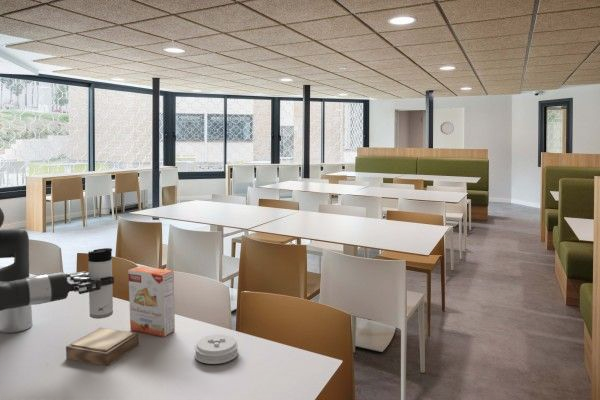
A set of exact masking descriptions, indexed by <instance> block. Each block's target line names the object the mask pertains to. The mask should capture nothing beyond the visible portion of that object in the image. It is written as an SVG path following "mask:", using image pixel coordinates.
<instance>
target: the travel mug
mask: <svg viewBox="0 0 600 400" xmlns="http://www.w3.org/2000/svg"><path fill="white" fill-rule="evenodd" d="M112 252H113V248H110V247H106V248H105V247H104V248H98V249H94V250H92V251H88V252H87V253H88V254H87V255H88V256H87V257H88V260H87V261H88V263H87V265H88V268H87V269H88V272H89V277H91V278H92V279H96V278H104V277H109V276H113V257H112V256H113V255H112ZM93 285H96V284H93ZM113 294H114V293H113V284H110V285H105V286H101V289H100V290H96V291H92V292H88V299H89V301H88V304H89V317H90V318H91V319H99V320H101V319H105V318H109V317H111V316H112V315H113V313H114V309H113V308H114V305H113V304H114V301H113V298H114V297H113V296H114V295H113Z"/></svg>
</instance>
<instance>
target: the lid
mask: <svg viewBox="0 0 600 400" xmlns="http://www.w3.org/2000/svg"><path fill="white" fill-rule="evenodd" d="M238 347H239V342H238V340H237V339H236V338H234V337H233V336H231V335H227V334H211V335H207V336H204V337H202V338H200V339H199V340H198V341H197V342H195V344H194V351H195V352H194V358H195V359H196V360H197V361H198V362H199V363H205V364H209V365H211V364H213V365H215V364H217V365H218V364H224V363H228V362H230V361H232V360H234V359H235V358H237V356H238V355H239V349H238Z"/></svg>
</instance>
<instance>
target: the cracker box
mask: <svg viewBox="0 0 600 400" xmlns="http://www.w3.org/2000/svg"><path fill="white" fill-rule="evenodd" d="M127 271H128V294H129V295H128V296H129V321H130V322H129V326H130V330H131V331H136V332H139V333H144V334H148V335H153V336H157V337H161V338H165V337H166V336H168V335H170V334H172V333H173V332H175V330H176V328H175V327H176V324H175V322H176V321H175V320H176V318H175V284H174V283H175V281H174V280H175V278H174V276H175V275H174V271H173V270H169V269H162V268H156V267H149V266H144V265H138V266H136V267H132V268H130V269H127Z"/></svg>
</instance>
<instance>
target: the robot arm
mask: <svg viewBox="0 0 600 400" xmlns="http://www.w3.org/2000/svg"><path fill="white" fill-rule="evenodd" d="M4 220H5V214H4V212H3V209H2V208H1V207H0V228H2V226H3V224H4ZM10 258H13V259H14V262H13V263H11V264H9V265H6V266H4V267H1V268H0V333H5V334H12V333H19V332H24V331H25V330H28V329H30V328H31V327H32V326H33V311H32V306H37V305H42V304H47V303H53V302H58V301H61V300H66V299H68V296H69V293H70V292H74V293H78V294H79V295H83V294H87V293H88V294H89V292H92V291H96V290H100V289H101V286H105V285H110V284H112V285H114V283H115V277H114V276H113V275H112V276H109V277H104V278H96V279H92V278H91V277H89V271H88V272H87V271H85V270H84V271H78V272H77V271H76V272H70V273H65V272H63V271H59V272H53V273H46V274H41V275H35V276H34V275H33V276H31V277H30V237H29V233H28V231H27V230H25V229H23V228H13V229H12V228H11V229H7V228H5V229H0V259H10ZM93 284H96V285H93Z"/></svg>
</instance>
